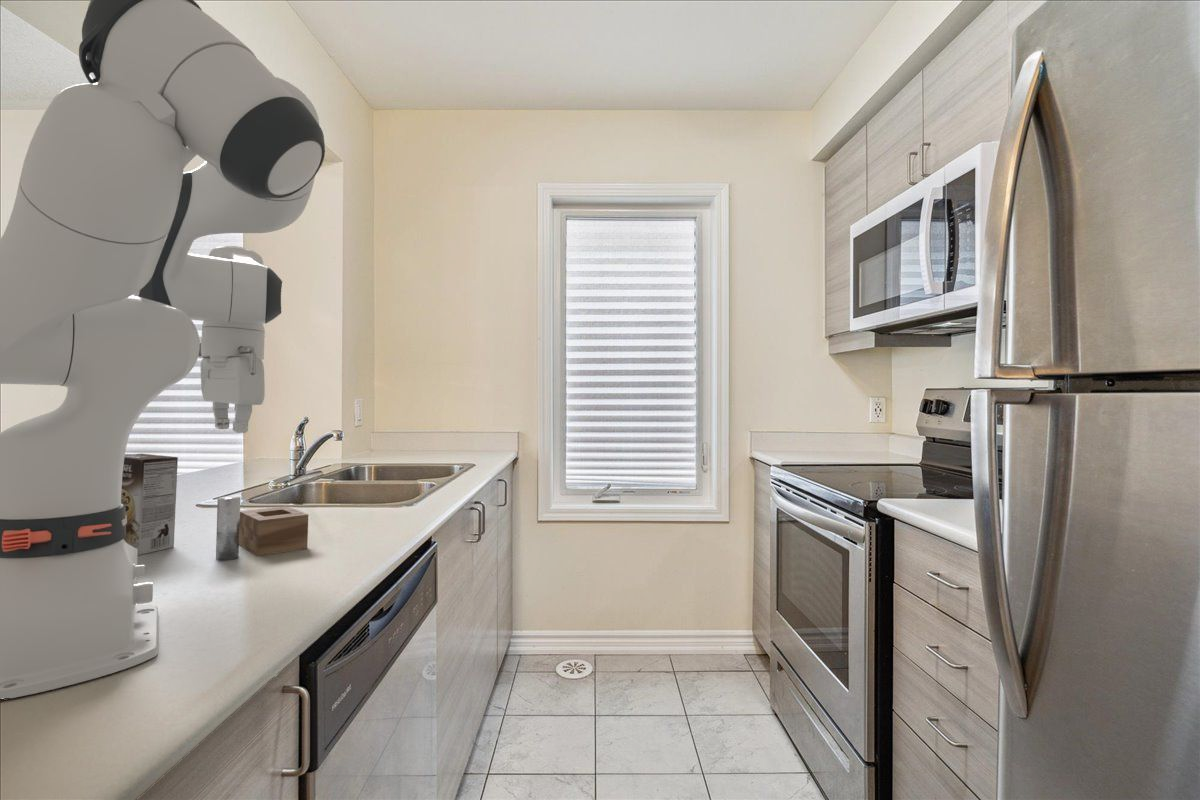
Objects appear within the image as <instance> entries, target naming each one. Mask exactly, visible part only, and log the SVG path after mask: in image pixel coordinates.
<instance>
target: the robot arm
mask: <svg viewBox="0 0 1200 800" xmlns="http://www.w3.org/2000/svg"><path fill="white" fill-rule="evenodd" d="M82 22H83V23H82V27H81V38H82V41H81V42H80V44H79V47H78V60H79V63H80V67H81V70H82V72H83V74H84V76H85V78H86V79H87V81H88V83H81V84H80V83H79V84H74V85H71V86H68V87H66V88H64V89H63V90H61V91H59V92H58V93H57V94H56V95H55V96H54V98H53V99H52V101H51V102H50V104H49V105H48V106H47V108H46V110H45V112H44V113H43V115H42V117H41V119H40V121H39V122H38V125H37V126H36V128H35V131H34V134H33V136H32V138H31V140H30V142H29V144H28V148H27V151H26V153H25V158H24V161H23V164H22V169H21V173H20V177H19V181H18V187H17V191H16V197H15V200H14V203H13V208H12V211H11V214H10V217H9V220H8V223H7V225H6V228H5V230H4V232H3V234H2V236H1V237H0V385H2V384H3V385H31V386H32V385H33V386H35V385H36V386H59V387H65V388H67V392H66V396H65V399H64V400H63V402H62V403H61V404H60V405H59V407H57V408H56V409H54V410H53V411H50V412H47V413H45V414H44V413H43V414H41V415H38V416H35V417H33V418H30V419H27V420H24V421H21V422H19V423H17V424H14V425H12V426H10V427H8V428H6V429H4V430H3V431H2V432H0V699H2V698H10V699H14V698H18V697H20V698H21V697H24V696H30V695H34V694H38V693H43V692H47V691H50V690H51V691H52V690H56V689H59V688H63V687H64V688H65V687H67V686H71V685H76V684H80V683H83V682H87V681H90V680H95V679H97V678H101V677H103V676H104V677H105V676H107V675H110V674H114V673H116V672H119V671H123V670H126V669H130V668H132V667H134V666H137V665H140V664H142V663H144V662H146V661H148V660H151V659H153V658H155V657H157V655H158V653H159V609H158V606H157V605H154V604H149V603H152V602H153V598H154V597H153V595H154V582H153V581H145V582H139V583H137V578H142V577H146V564H138V555H137V549H136V548H133V546H131V545H129V544H127V543H126V542H125V541H124V538H125V537H126V524H127V516H126V513H125V505H123V504H122V503H121V490H122V475H123V466H124V458H125V454H126V452H127V451H126V450H127V444H128V440H129V437H130V435H131V432H132V430H133V427H134V426H135V424H136V422H137V420H138V419H139V417H140V415H141V414H142V413H143V412H144V410H145V409H146V408H147V406H148V405H150V403H151V402H152V401H153V400H154V399H155V398H156V397H158V396H159V395H160V394H161V393H163V392H164V391H165V390H167V389H168V388H170V387H171V386H174V385H175V384H177V383H179V382H180V381H181V380H183V379H184V378H185V377H186V376H187V375H188V374H190V373H191V371H192V369H193V368H194V367H195V365H196V364H197V361H198V359H201V360H200V385H201V387H200V388H201V395H202V399H203V400H204V402H205V401H206V402H212V411H213V412H212V413H213V416H214V426H215V427H214V428H215V429H217V430H228V429H230V418H229V408H230V404H232V405H234V412H235V413H234V420H233V421H232V431H233V433H237V434H245V433H247V432H248V431H249V422H250V418H251V415H252V413H253V406H261V405H263V403H264V401H265V397H266V394H265V392H266V391H265V385H266V384H265V366H264V362H263V360H264V359H265V337H266V336H265V335H266V334H265V332H266V331H265V327H264V324H268V323H270V322H272V321H273V320H274V319H276V318H277V317H278V316H280V315H281V314H282V288H283V280H282V279H281V278H280V277H279V276H278V275H277V273H276V272H275V271H274V270H273V269H271V268H270V267H269V266H266V265H264V261H263V257H262V255H260V254H259V253H257V252H256V251H254V250H251V249H249V248H245V247H242V246H235V245H221V246H217V247H214V248H212V249H211V250H210V251H209V254H208V256H207V255H202V254H201V255H200V254H194V253H191V252H190V250H191V248H192V245H193V243H194V241H195V240H197V239H199V238H201V237H206V236H212V235H222V234H265V233H273V232H276V231H279V230H282V229H285V228H286V227H289V226H290V225H292V224H294V223H295V222H296V221H297V220H298V219H299V218H300V217H301V216H302V214H303V212H304V211H305V210H306V209H305V208H306V206H307V204H308V202H309V199H310V197H311V194H312V190H313V187H314V183H315V179H316V176H317V173H318V172H319V171H320V169H321V166H322V165H323V163H324V160H325V154H326V148H325V146H326V145H325V136H324V132H323V129H322V128H321V126H320V121H319V116H318V113H317V109H316V108H315V107H314V104H313V103H312V101H311V100H310V99H309V97H307V95H306V94H305V93H304V92H303V91H302V90H300V89H299V88H298V87H297V86H295V85H294V84H293V83H290V82H289V81H287V80H285V79H282V78H280V77H276V76H275V75H274V74H273V73H272V72H271V71H270V70H269V69H268V68H267V67H266V66H265V65H264V63H262V62H261V60H259V59H258V58H257V56H256V54H255V53H254V52H253V51H252V49H250V48H249V47H248V46H247V45H245V43H243V42H242V41H241V40H240V39H239V38H238V37H237V36H235V34H233V33H231V32H230V30H228V29H227V28H225V27H224V26H223V25H222V24H220V22H218V21H217V20H215V19H214V18H212V16H210V15H209V14H207V12H205V11H204V10H203V9H202V8H201V6H200V5H199V4H198V3H197V2H196V1H195V0H90V1H89V4H88V6H87V9H86V12H85V15H84V20H83V21H82ZM91 73H92V74H93V75H94V78H93V77H92V76H91ZM196 156H198V157H200V158H201V159H203V160H204V162H203V163H202V164H201V165H200V166H198V167H197V168H195V169H193V170H191V171H185V172H184V170H185V168H186V167H187V165H188V164H189V163H190V162H191V161H192V160H193V159H194V158H195V157H196ZM189 252H190V253H189ZM193 321H202V324H201V325H202V326H201V337H200V334H199V332H198V330H197V327H196V325H195V323H194V322H193Z"/></svg>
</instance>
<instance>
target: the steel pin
mask: <svg viewBox="0 0 1200 800" xmlns="http://www.w3.org/2000/svg"><path fill="white" fill-rule="evenodd" d="M216 505H217V506H216V507H217V508H216V535H215V536H216V539H215V540H216V542H215V560H216V561H219V562H220V561H232V560H235V559H238V558H239V557H240V554H239V553H240V545H239V528H240V511H241V496H238V495H237V496H234V495H232V496H229V495H228V496H222V497H221V496H219V497H218V498H217V504H216Z"/></svg>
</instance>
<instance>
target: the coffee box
mask: <svg viewBox="0 0 1200 800" xmlns="http://www.w3.org/2000/svg"><path fill="white" fill-rule="evenodd" d="M178 459H179V457H177V456H169V455H162V454H159V455H158V454H150V453H133V454H131V453H130V454H128V453H125V458H124V466H123V475H122V490H121V503H122V504H123V505H125V513H126V516H127V524H126V537H125V538H124V541H125V542H126V543H127V544H129V545H131V546H133V548H136V549H137V556H141V555H145V554H150V553H155V552H158V551H163V550H167V549H172V548H174V547H175V529H176V527H175V526H176V506H177V505H176V504H177V481H178V480H177V479H178Z"/></svg>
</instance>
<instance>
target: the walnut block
mask: <svg viewBox="0 0 1200 800" xmlns="http://www.w3.org/2000/svg"><path fill="white" fill-rule="evenodd" d="M308 532H309V514H308V513H306V512H303V511H300V510H298V509H295V508H293V507H290V506H287V505H286V506H278V507H276V506H275V507H269V508H268V507H267V508H262V509H261V508H260V509H251V510H250V509H248V510H240V528H239V546H240V545H241V546H240V547H242V548H244V549H245V550H247V551H249V552H250V553H252V554H254V555H256V556H257V557H260V556H266V555H272V554H278V553H285V552H289V551H294V550H295V551H296V550H301V549H308V540H309V539H308V538H309V537H308V535H309V533H308Z"/></svg>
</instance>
